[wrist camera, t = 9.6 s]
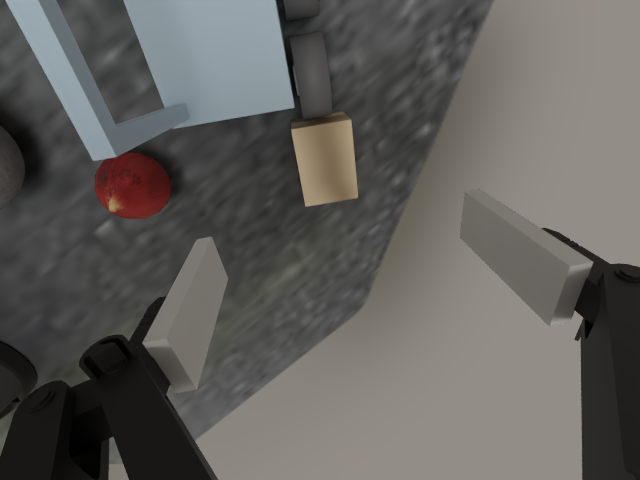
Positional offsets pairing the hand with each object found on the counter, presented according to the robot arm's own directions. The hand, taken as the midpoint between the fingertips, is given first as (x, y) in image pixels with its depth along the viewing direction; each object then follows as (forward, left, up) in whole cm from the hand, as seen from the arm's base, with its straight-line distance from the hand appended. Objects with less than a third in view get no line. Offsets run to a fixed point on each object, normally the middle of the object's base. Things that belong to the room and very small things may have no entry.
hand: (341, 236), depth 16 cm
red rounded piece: (-17, +1, -17) cm, 24 cm away
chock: (0, 0, -17) cm, 17 cm away
